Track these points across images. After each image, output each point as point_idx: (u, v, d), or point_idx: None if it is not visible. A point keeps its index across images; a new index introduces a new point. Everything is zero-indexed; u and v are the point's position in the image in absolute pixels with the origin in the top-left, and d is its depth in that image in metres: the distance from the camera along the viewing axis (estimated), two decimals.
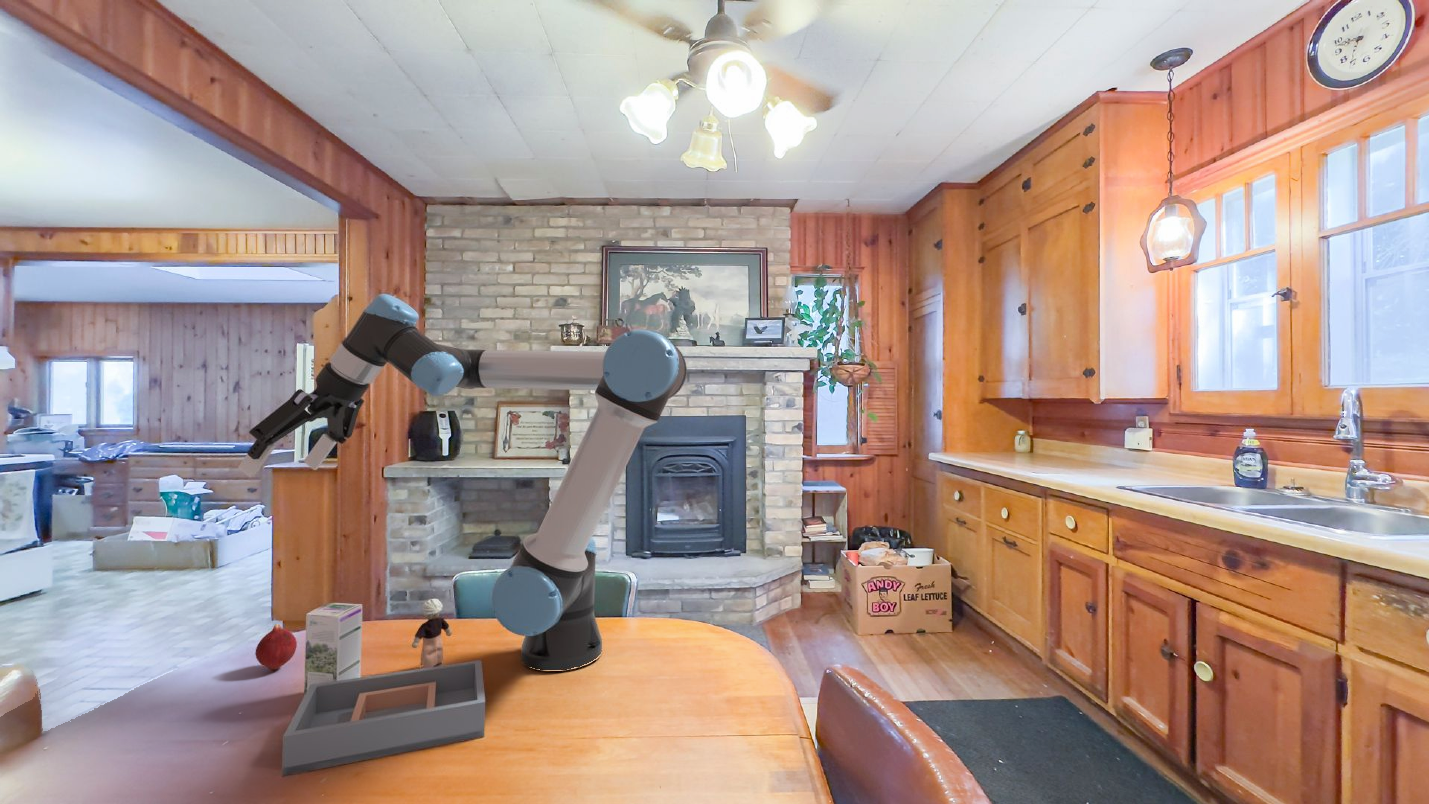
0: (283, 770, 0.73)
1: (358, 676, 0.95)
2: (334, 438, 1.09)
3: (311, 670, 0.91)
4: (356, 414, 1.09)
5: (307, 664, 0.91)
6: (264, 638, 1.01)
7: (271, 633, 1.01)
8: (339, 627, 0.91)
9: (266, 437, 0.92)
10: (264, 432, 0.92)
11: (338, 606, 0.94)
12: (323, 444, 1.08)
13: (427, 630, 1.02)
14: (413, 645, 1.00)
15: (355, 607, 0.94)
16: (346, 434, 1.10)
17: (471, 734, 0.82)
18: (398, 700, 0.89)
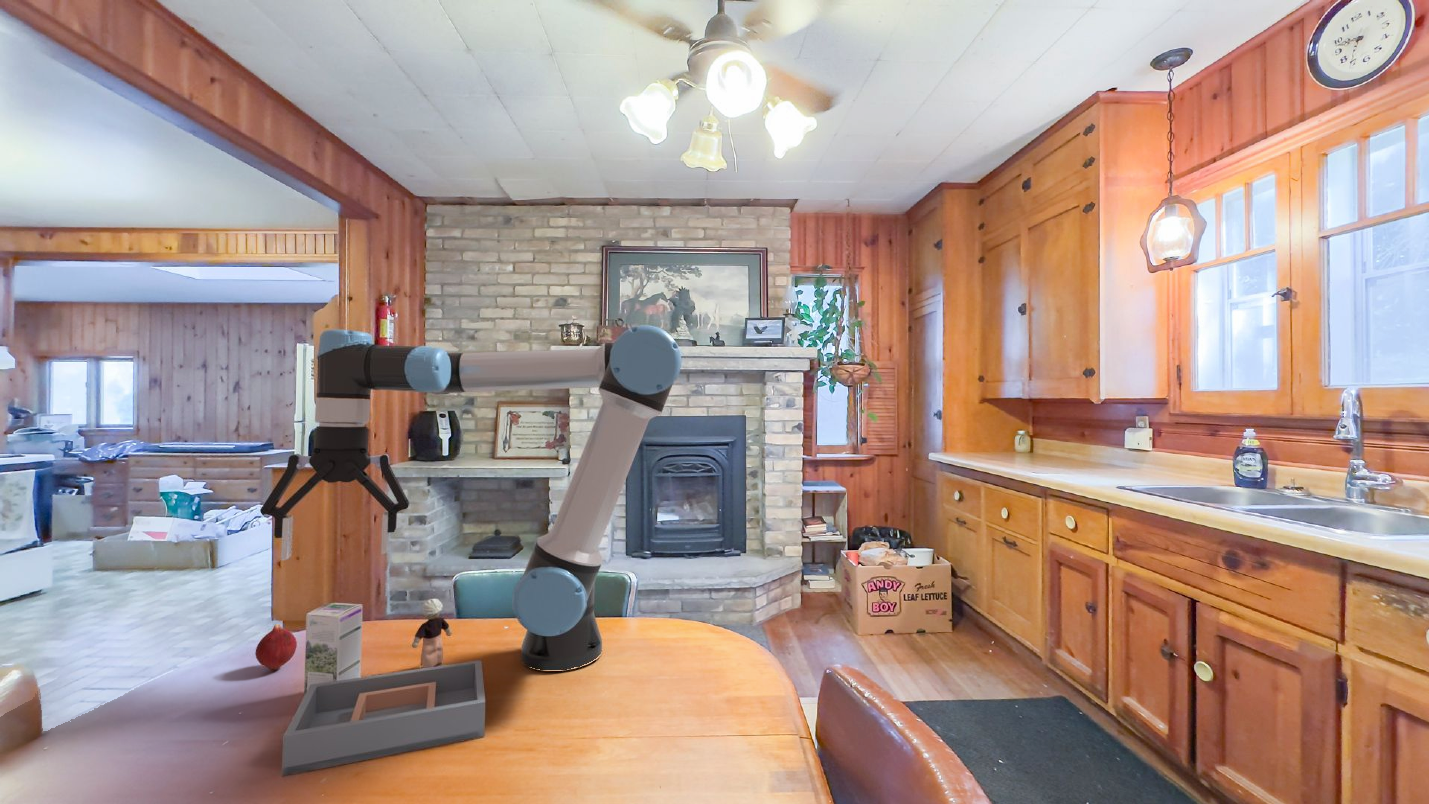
0: (283, 770, 0.73)
1: (358, 676, 0.95)
2: None
3: (311, 670, 0.91)
4: (390, 475, 0.96)
5: (307, 664, 0.91)
6: (264, 638, 1.01)
7: (271, 633, 1.01)
8: (339, 627, 0.91)
9: (266, 507, 0.89)
10: (265, 503, 0.89)
11: (338, 606, 0.94)
12: None
13: (427, 630, 1.02)
14: (413, 645, 1.00)
15: (355, 607, 0.94)
16: (399, 504, 0.97)
17: (471, 734, 0.82)
18: (398, 700, 0.89)
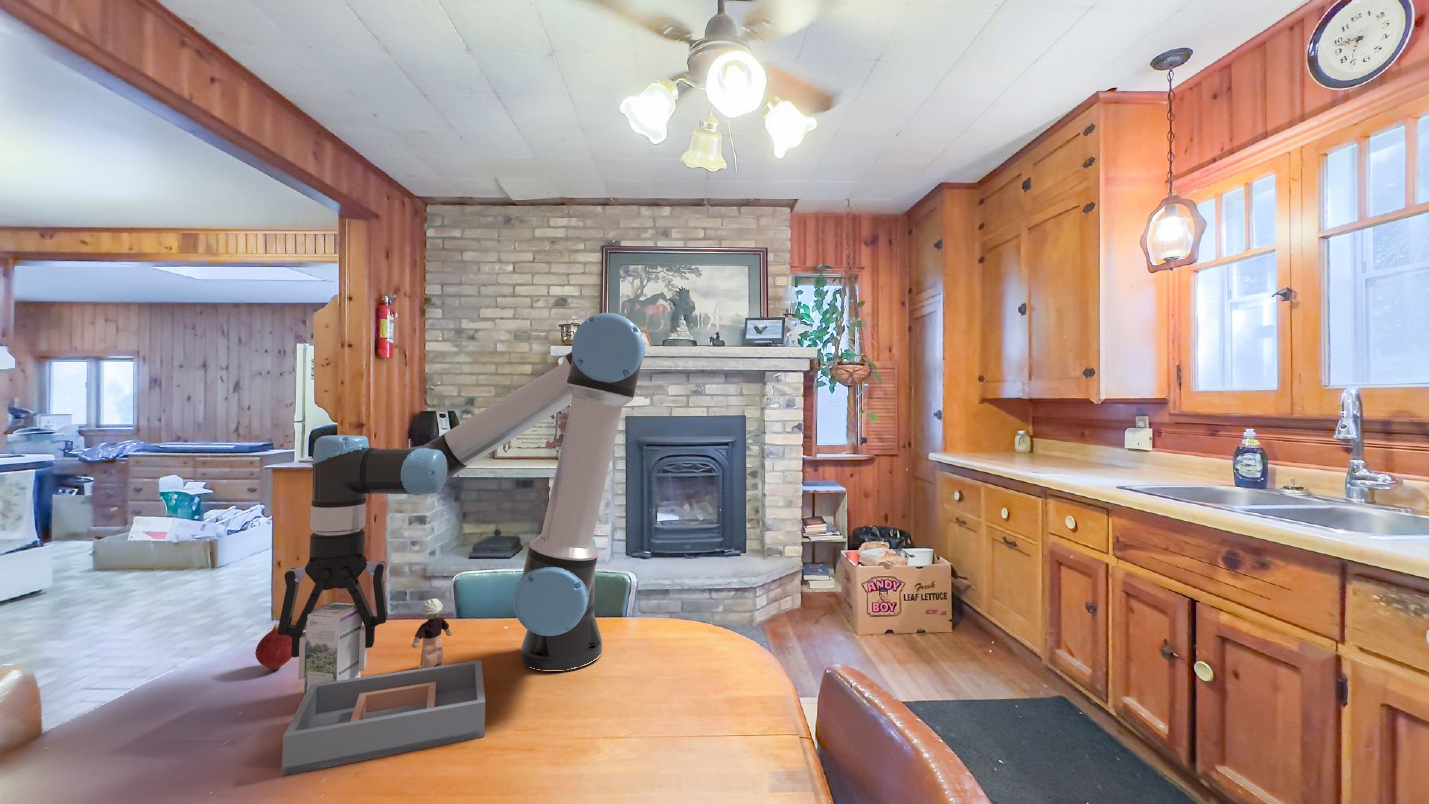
0: (283, 770, 0.73)
1: (358, 676, 0.95)
2: (365, 625, 0.95)
3: (311, 670, 0.91)
4: (379, 586, 0.95)
5: (307, 664, 0.91)
6: (264, 638, 1.01)
7: (271, 633, 1.01)
8: (340, 626, 0.91)
9: (282, 628, 0.89)
10: None
11: (338, 606, 0.94)
12: None
13: (427, 630, 1.02)
14: (413, 645, 1.00)
15: (355, 607, 0.94)
16: (377, 617, 0.95)
17: (471, 734, 0.82)
18: (398, 700, 0.89)
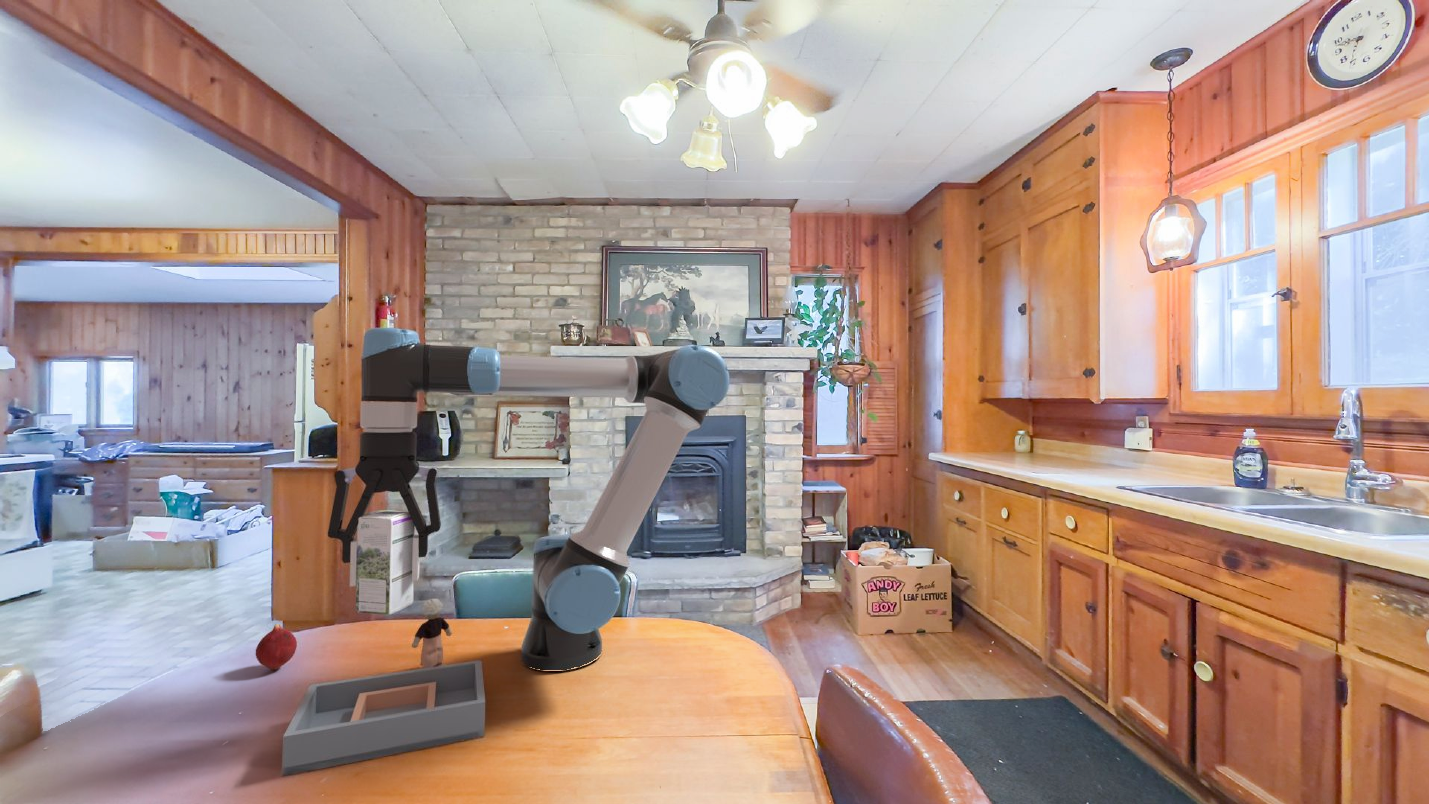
0: (283, 770, 0.73)
1: (411, 588, 0.89)
2: (418, 533, 0.89)
3: (363, 576, 0.85)
4: (432, 491, 0.89)
5: (359, 570, 0.85)
6: (264, 638, 1.01)
7: (271, 633, 1.01)
8: (392, 530, 0.85)
9: (332, 530, 0.84)
10: None
11: (390, 512, 0.88)
12: None
13: (427, 630, 1.02)
14: (413, 645, 1.00)
15: (407, 513, 0.88)
16: (431, 524, 0.89)
17: (471, 734, 0.82)
18: (398, 700, 0.89)
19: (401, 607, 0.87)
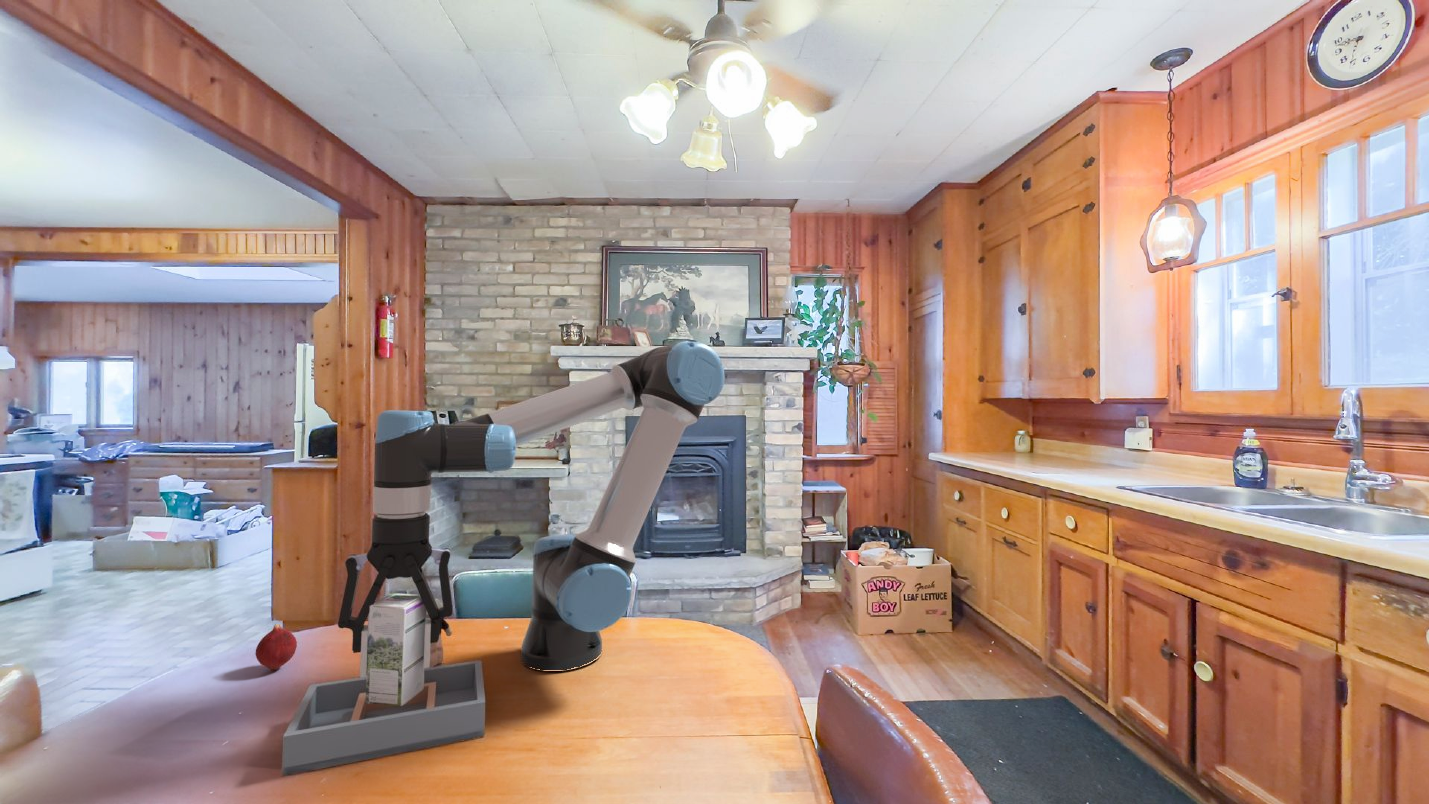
0: (283, 770, 0.73)
1: (422, 674, 0.87)
2: (430, 618, 0.87)
3: (374, 667, 0.82)
4: (445, 575, 0.87)
5: (369, 660, 0.83)
6: (264, 638, 1.01)
7: (271, 633, 1.01)
8: (405, 619, 0.82)
9: (342, 620, 0.81)
10: None
11: (401, 597, 0.86)
12: None
13: None
14: None
15: (420, 598, 0.86)
16: (443, 609, 0.87)
17: (471, 734, 0.82)
18: None
19: (412, 696, 0.85)
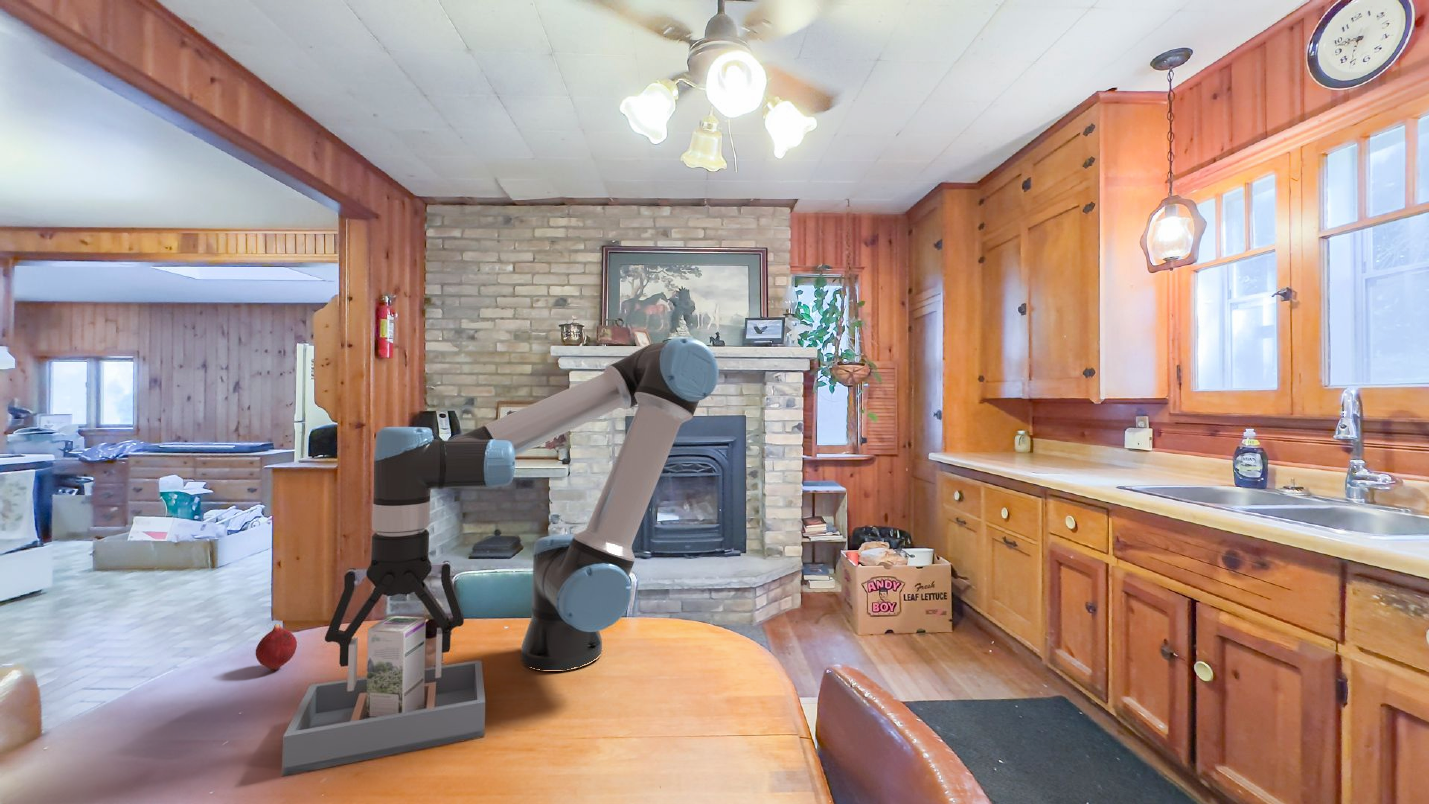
0: (283, 770, 0.73)
1: (422, 696, 0.87)
2: (442, 629, 0.87)
3: (374, 691, 0.82)
4: (449, 587, 0.87)
5: (369, 684, 0.83)
6: (264, 638, 1.01)
7: (271, 633, 1.01)
8: (405, 643, 0.82)
9: (330, 634, 0.81)
10: (328, 629, 0.81)
11: (400, 620, 0.86)
12: None
13: (427, 630, 1.02)
14: None
15: (419, 621, 0.86)
16: (454, 620, 0.87)
17: (471, 734, 0.82)
18: None
19: None
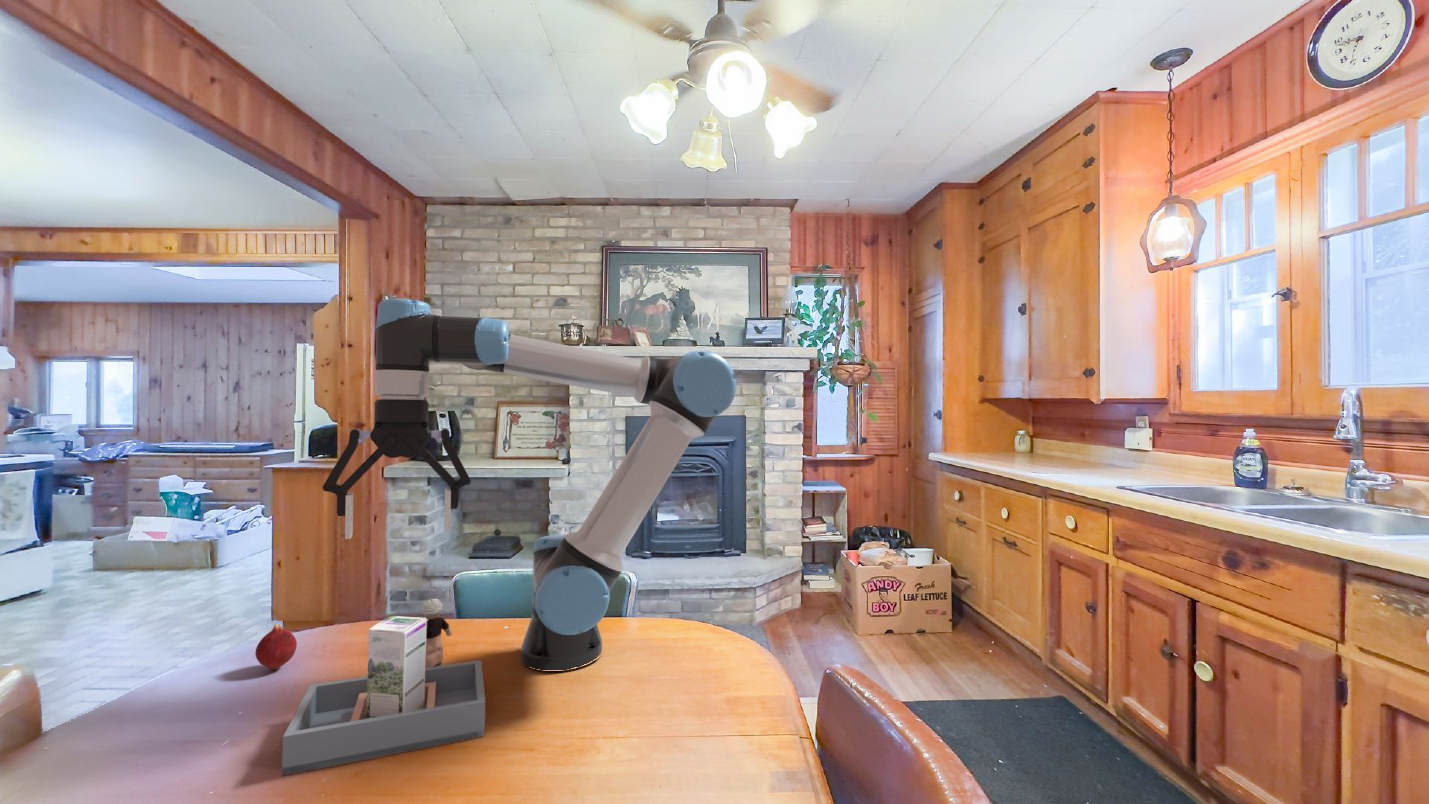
0: (283, 770, 0.73)
1: (422, 696, 0.87)
2: (450, 487, 0.93)
3: (374, 691, 0.82)
4: (452, 449, 0.93)
5: (370, 684, 0.83)
6: (264, 638, 1.01)
7: (271, 633, 1.01)
8: (406, 643, 0.82)
9: (328, 484, 0.85)
10: None
11: (401, 620, 0.86)
12: (445, 498, 0.94)
13: (427, 630, 1.02)
14: None
15: (420, 621, 0.86)
16: (461, 479, 0.94)
17: (471, 734, 0.82)
18: None
19: None
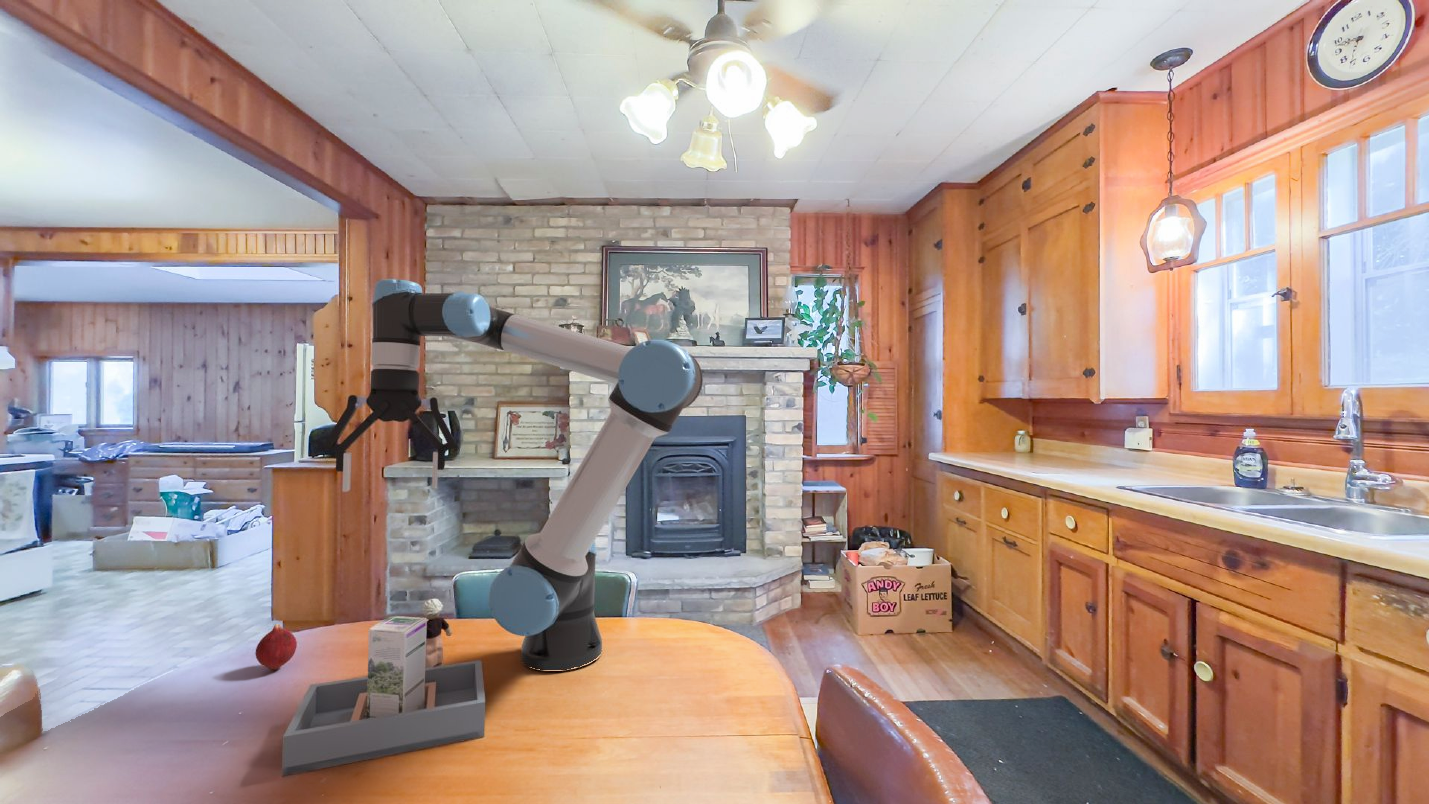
0: (283, 770, 0.73)
1: (422, 696, 0.87)
2: (438, 450, 1.04)
3: (374, 691, 0.82)
4: (439, 416, 1.03)
5: (370, 684, 0.83)
6: (264, 638, 1.01)
7: (271, 633, 1.01)
8: (406, 643, 0.82)
9: (328, 442, 0.96)
10: (327, 438, 0.97)
11: (401, 620, 0.86)
12: None
13: (427, 630, 1.02)
14: None
15: (420, 621, 0.86)
16: (447, 443, 1.04)
17: (471, 734, 0.82)
18: None
19: None
